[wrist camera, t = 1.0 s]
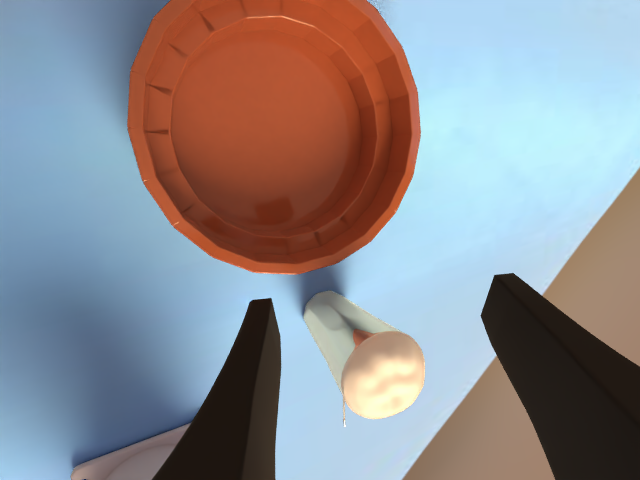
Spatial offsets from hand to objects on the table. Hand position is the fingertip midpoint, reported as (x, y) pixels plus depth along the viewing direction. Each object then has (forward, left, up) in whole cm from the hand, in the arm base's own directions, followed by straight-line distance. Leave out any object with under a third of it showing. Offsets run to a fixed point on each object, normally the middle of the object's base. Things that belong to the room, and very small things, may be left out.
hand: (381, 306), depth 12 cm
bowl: (+6, 0, -12) cm, 13 cm away
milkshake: (-6, -1, -12) cm, 14 cm away
